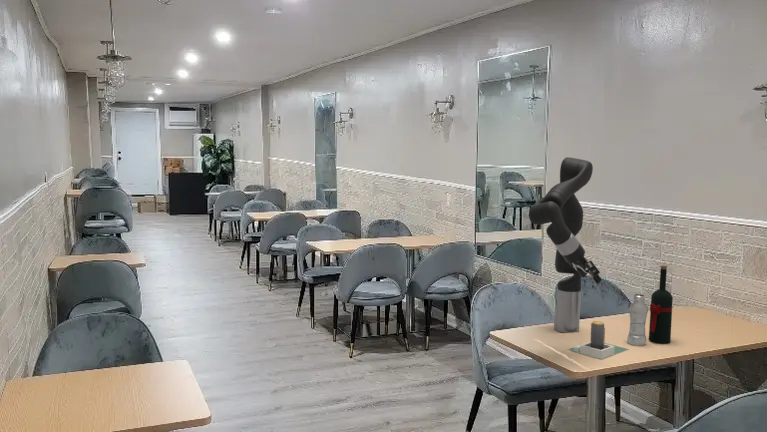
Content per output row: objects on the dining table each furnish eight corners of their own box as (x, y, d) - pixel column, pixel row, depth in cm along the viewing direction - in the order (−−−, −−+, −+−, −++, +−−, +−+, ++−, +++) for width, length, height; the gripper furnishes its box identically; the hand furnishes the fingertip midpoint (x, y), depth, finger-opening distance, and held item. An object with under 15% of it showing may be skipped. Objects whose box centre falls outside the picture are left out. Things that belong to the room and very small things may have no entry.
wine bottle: (641, 341, 251) (645, 265, 248) (655, 337, 257) (659, 263, 254) (660, 346, 245) (665, 269, 242) (674, 341, 251) (678, 266, 248)
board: (566, 353, 235) (567, 341, 235) (595, 343, 247) (595, 332, 247) (601, 362, 225) (601, 351, 224) (629, 352, 237) (629, 341, 236)
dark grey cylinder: (594, 356, 228) (595, 324, 227) (587, 352, 232) (588, 321, 231) (607, 355, 229) (608, 323, 228) (599, 351, 234) (601, 320, 232)
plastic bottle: (623, 344, 247) (626, 293, 245) (640, 343, 248) (643, 293, 246) (631, 349, 241) (634, 297, 239) (649, 349, 241) (651, 297, 239)
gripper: (588, 244, 218) (611, 276, 224) (565, 235, 232) (587, 266, 237) (573, 259, 218) (597, 291, 223) (550, 249, 231) (573, 280, 236)
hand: (592, 278), depth 230 cm, fingers open, 8 cm apart
